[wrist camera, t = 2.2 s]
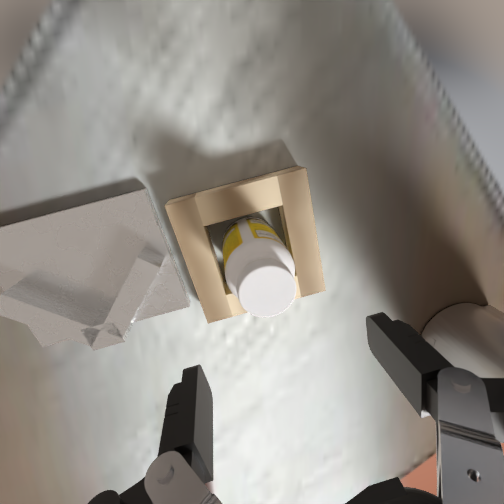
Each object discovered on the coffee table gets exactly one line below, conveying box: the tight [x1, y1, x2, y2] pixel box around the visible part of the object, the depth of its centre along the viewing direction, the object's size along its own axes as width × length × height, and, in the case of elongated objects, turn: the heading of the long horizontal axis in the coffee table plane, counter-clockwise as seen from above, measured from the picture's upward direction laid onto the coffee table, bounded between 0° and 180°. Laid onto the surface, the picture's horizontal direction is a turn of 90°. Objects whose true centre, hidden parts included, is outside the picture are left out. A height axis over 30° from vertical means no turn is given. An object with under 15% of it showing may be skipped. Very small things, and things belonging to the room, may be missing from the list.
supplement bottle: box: [222, 217, 296, 317], centre depth 23 cm, size 5×5×10 cm
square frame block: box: [165, 166, 326, 323], centre depth 26 cm, size 12×12×2 cm
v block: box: [0, 188, 190, 350], centre depth 25 cm, size 15×12×4 cm
